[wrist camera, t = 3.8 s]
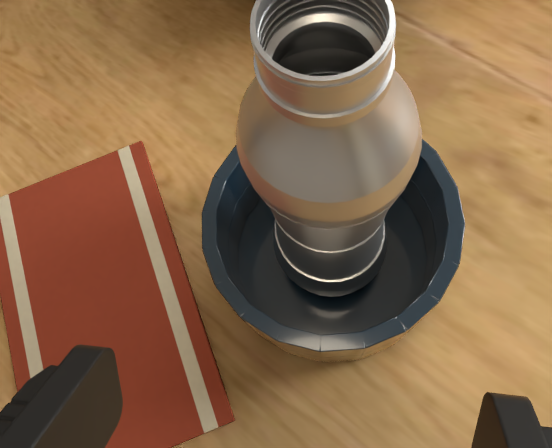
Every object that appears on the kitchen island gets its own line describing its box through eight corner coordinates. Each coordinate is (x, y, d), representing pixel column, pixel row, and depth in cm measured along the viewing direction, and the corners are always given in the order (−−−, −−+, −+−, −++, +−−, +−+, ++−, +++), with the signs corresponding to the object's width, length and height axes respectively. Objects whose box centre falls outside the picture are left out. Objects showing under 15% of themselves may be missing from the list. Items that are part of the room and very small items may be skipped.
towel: (-14, 205, 35) (-17, 203, 35) (142, 142, 35) (141, 140, 35) (40, 502, 28) (36, 503, 28) (235, 420, 28) (233, 420, 28)
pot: (200, 204, 33) (170, 160, 27) (380, 131, 34) (389, 71, 27) (271, 397, 28) (253, 395, 22) (479, 309, 29) (517, 285, 23)
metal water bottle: (342, 184, 32) (351, -117, 13) (405, 268, 30) (521, 43, 11) (258, 236, 32) (147, -3, 13) (316, 326, 29) (281, 191, 11)
